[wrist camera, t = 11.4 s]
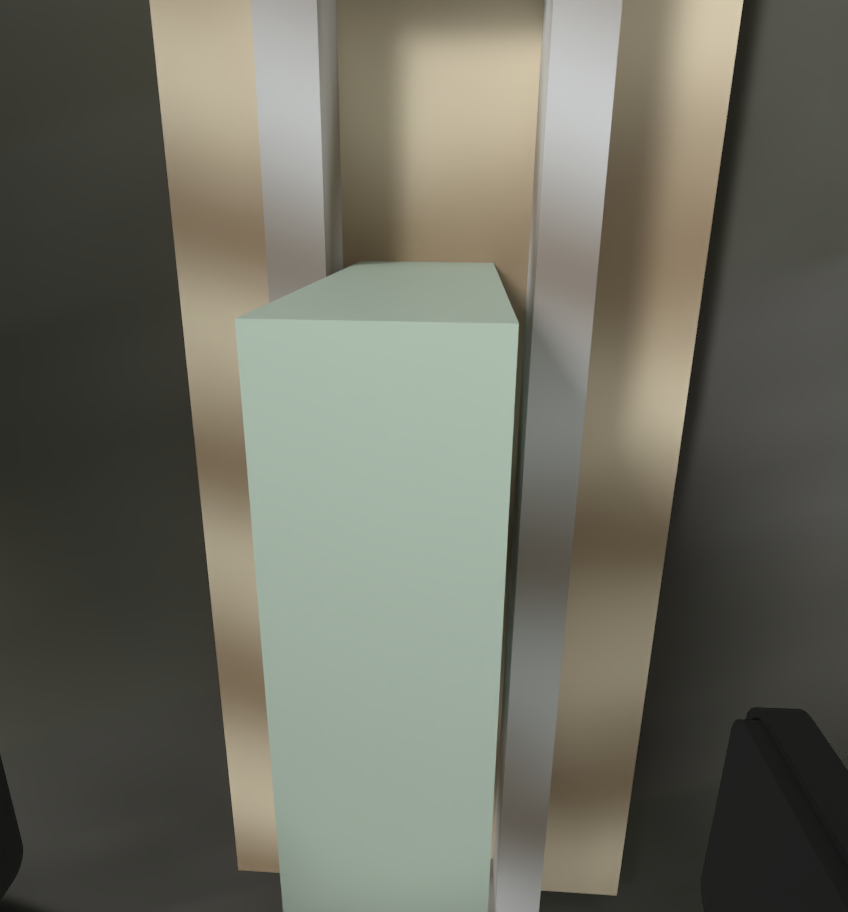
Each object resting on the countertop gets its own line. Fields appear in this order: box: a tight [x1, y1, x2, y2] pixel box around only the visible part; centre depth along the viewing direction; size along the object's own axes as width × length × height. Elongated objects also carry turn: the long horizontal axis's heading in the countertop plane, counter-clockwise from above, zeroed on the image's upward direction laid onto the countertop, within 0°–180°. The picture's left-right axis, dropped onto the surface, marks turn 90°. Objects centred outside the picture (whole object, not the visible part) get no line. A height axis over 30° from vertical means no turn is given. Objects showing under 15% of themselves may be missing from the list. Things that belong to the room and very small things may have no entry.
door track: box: [149, 0, 743, 912], centre depth 17 cm, size 26×12×3 cm, turn 179°
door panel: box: [235, 261, 519, 912], centre depth 14 cm, size 12×3×9 cm, turn 0°
